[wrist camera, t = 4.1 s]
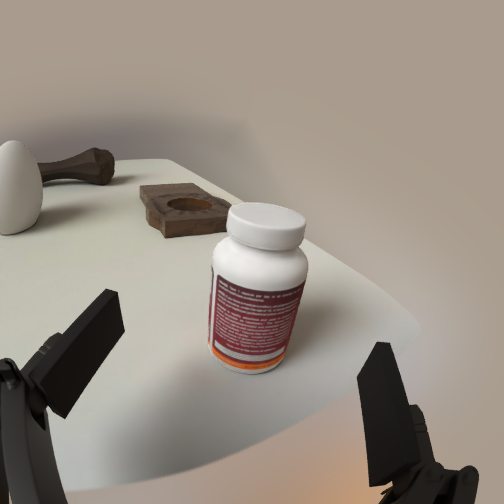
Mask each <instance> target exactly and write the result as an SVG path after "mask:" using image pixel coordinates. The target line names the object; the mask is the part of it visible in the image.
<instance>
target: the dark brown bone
mask: <svg viewBox="0 0 504 504" xmlns="http://www.w3.org/2000/svg"><path fill="white" fill-rule="evenodd" d="M37 165H38V168H39V171H40V174H41V179H42V183H43V182H47V181H51V180H56V179H78V180H84V181H88V182H92V183H96V184H99V185H104V184H106V183H108V182H109V181H110V180H111V178H112V177H113V175H114V172H115V170H114V165H115V161H114V157H113V156H112V154H111V153H110V152H109V151H108V150H100V149H98V148H91V149H89V150H87V151H85V152H83V153H81V154H79V155H76V156H74V157H71V158H69V159H66V160H62V161H58V162H52V163H37Z"/></svg>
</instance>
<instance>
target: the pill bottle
mask: <svg viewBox="0 0 504 504" xmlns="http://www.w3.org/2000/svg"><path fill="white" fill-rule="evenodd" d="M305 226H306V220H305V218H304V217H303V216H302V215H301V214H299V213H298V212H295V211H293V210H291V209H288V208H285V207H281V206H278V205H273V204H267V203H254V202H251V203H250V202H248V203H239V204H236V205H233V206H231V207H230V209H229V212H228V218H227V224H226V228H227V233H228V235H229V236H227V237H226V238H224V239H223V240H221V241H220V242H219V243H218V244H217V246H216V247H215V249H214V252H213V258H212V269H211V286H210V304H209V323H208V346H209V350H210V352H211V354H212V356H213V357H214V358H215V359H216V360H217V361H218V362H219V363H220V364H221V365H223V366H224V367H226V368H228V369H230V370H232V371H235V372H239V373H243V374H258V373H263V372H266V371H269V370H271V369H273V368H274V367H276V366H277V365H278V364H279V363H280V362H281V361H282V359H283V357H284V355H285V352H286V350H287V346H288V343H289V340H290V336H291V333H292V329H293V326H294V322H295V318H296V315H297V311H298V307H299V304H300V300H301V297H302V293H303V289H304V286H305V282H306V278H307V272H308V260H307V258H306V256H305V254H304V252H303V251H302V250H301V249H300V248H299V247H298V246H299V245H300V244H301V243H302V241H303V239H304V232H305Z"/></svg>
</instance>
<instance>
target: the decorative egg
mask: <svg viewBox="0 0 504 504" xmlns="http://www.w3.org/2000/svg"><path fill="white" fill-rule="evenodd" d="M42 200H43V186H42V179H41V174H40V171H39V168H38V165H37V162H36V160H35V159H34V157H33V155H32V154H31V152H30V151H29V150H28V148H27V147H26V146H25V145H23V144H22V143H20V142H18V141H14V140H12V141H8V142H6V143H4V144H3V145H1V146H0V234H3V235H9V234H15V233H18V232H21V231H24V230H26V229H28V228H30V227H31V226H32V225H33V224H34V223H35V222H36V220H37V218H38V216H39V213H40V210H41V206H42Z"/></svg>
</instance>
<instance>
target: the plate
mask: <svg viewBox="0 0 504 504" xmlns="http://www.w3.org/2000/svg"><path fill="white" fill-rule="evenodd" d="M140 198H141V200H142V202H143V203H144V205H145V207H146V220H147V221H148V223H149V225H150V226H152V227H154V228H156V229H158V230H160V231H161V233H162V234H163V236H164V237H165V238H170V237H179V236H188V235H201V234H210V233H215V232H224V231H227V228H226V224H227V218H228V212H229V209H230V207H231V206H232V205H231V204H230V203H229V202H227V201H225V200H224V199H221V198H218V197H214V196H212V195H210V194H209V193H207V192H206V191H204V190H203V189H201V188H200V187H198V186H197V185H195V184H194V183H181V184H161V185H145V186H140Z"/></svg>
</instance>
